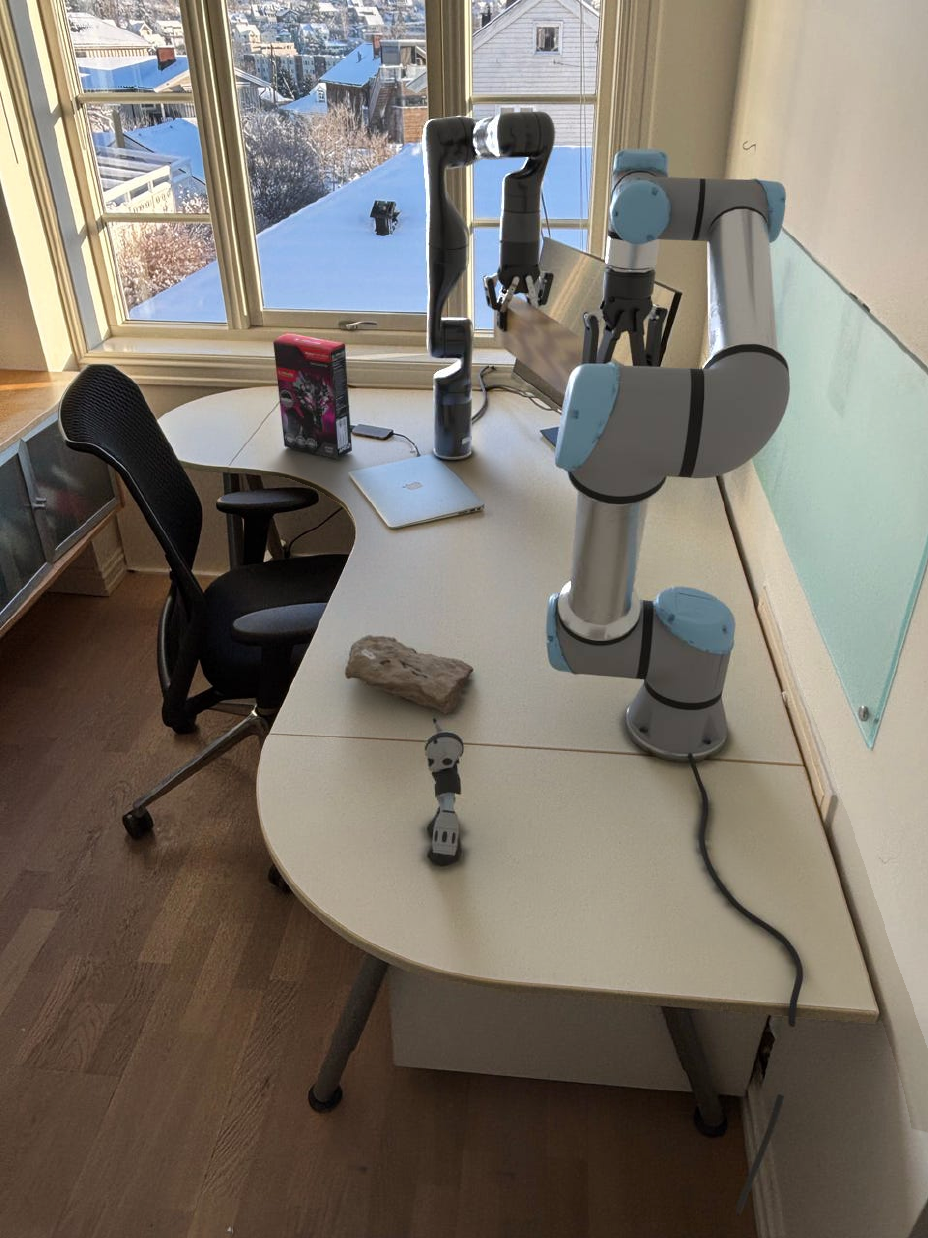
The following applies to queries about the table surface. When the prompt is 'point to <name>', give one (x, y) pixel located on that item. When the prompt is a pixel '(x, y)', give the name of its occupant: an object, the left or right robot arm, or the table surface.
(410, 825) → the table surface
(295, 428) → the graphics card box
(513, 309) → the bar
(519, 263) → the left robot arm
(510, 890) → the table surface
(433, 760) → the robot
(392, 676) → the stone
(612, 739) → the table surface
